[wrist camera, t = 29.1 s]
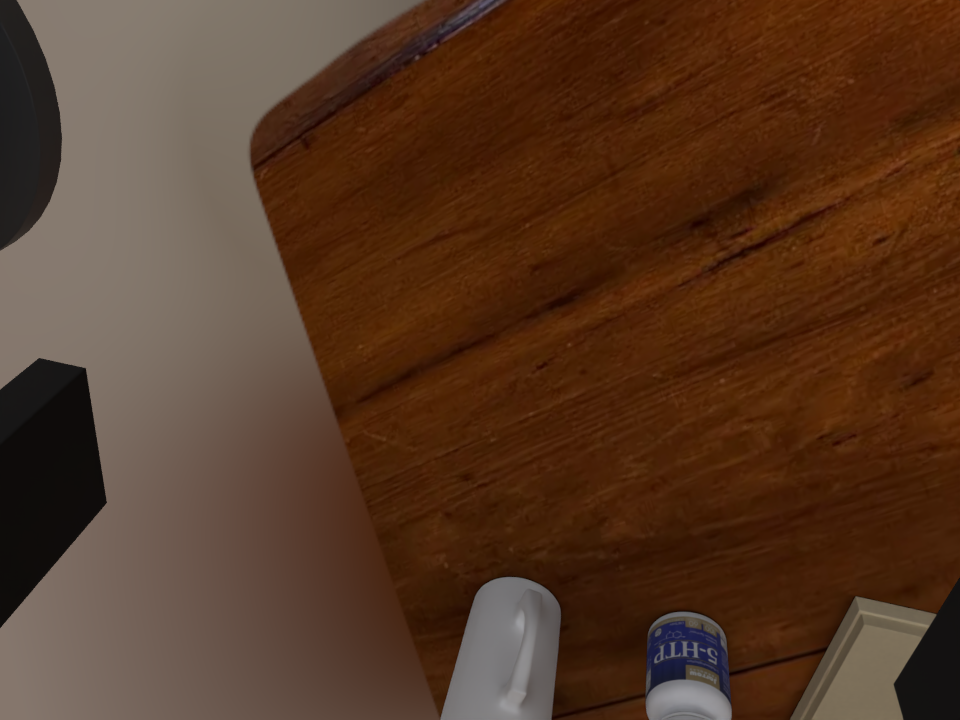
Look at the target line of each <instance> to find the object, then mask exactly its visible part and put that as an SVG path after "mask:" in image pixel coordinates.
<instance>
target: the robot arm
mask: <svg viewBox="0 0 960 720" xmlns="http://www.w3.org/2000/svg"><path fill="white" fill-rule="evenodd" d="M106 503H107V501H106V495H105V489H104V482H103V476H102V470H101V464H100V457H99V450H98V444H97V437H96V432H95V425H94V418H93V412H92V406H91V399H90V393H89V386H88V381H87V374H86V368H82V367H77V366H73V365H68V364H64V363H59V362H54V361H50V360H45V359H40V358H39V359H37V360H36V361H35V362H34V363H33V364H31V365H30V366H29V367H28V368H26V369H25V370H24V371H23V372H21V373H20V374H19V375H18V376H16V377H15V378H14V379H13V380H12V381H10V382H9V383H8V384H7V385H5V386H4V387H3V388H2V389H1V390H0V628H1V627H2V625H3V624H4V623H5V622H6V621H7V619H8V618H9V617H10V616H11V615H12V614H13V612H14V611H15V610H16V609H17V608H18V606H19V605H20V604H21V603H22V602H23V601H24V599H25V598H26V597H27V596H28V595H29V594H30V592H31V591H32V590H33V589H34V588H35V586H36V585H37V584H38V583H39V582H40V581H41V580H42V578H43V577H44V576H45V575H46V574H47V572H48V571H49V570H50V569H51V568H52V567H53V565H54V564H55V563H56V562H57V561H58V560H59V558H60V557H61V556H62V555H63V554H64V552H65V551H66V550H67V549H68V548H69V547H70V545H71V544H72V543H73V542H74V541H75V540H76V538H77V537H78V536H79V535H80V534H81V532H82V531H83V530H84V529H85V528H86V527H87V525H88V524H89V523H90V522H91V521H92V520H93V518H94V517H95V516H96V515H97V514H98V513H99V511H100V510H101V509H102V508H103V507H104V506H105V504H106ZM894 688H895V692H896V695H897V699H898V702H899V706H900V709H901V713H902V716H903V720H960V578H959V579H958V581H957V583H956V584H955V586H954V587H953V589H952V591H951V592H950V594H949V595H948V597H947V599H946V600H945V602H944V604H943V605H942V607H941V608H940V610H939V612H938V613H937V615H936V616H935V618H934V620H933V621H932V623H931V624H930V626H929V628H928V629H927V631H926V633H925V634H924V636H923V637H922V639H921V641H920V642H919V644H918V645H917V647H916V649H915V650H914V652H913V653H912V655H911V657H910V658H909V660H908V662H907V663H906V665H905V666H904V668H903V670H902V671H901V673H900V674H899V676H898V678H897V679H896V681H895V682H894Z"/></svg>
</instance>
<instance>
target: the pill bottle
mask: <svg viewBox="0 0 960 720" xmlns="http://www.w3.org/2000/svg"><path fill="white" fill-rule="evenodd" d="M646 712H647V716H648V718H649V720H731V715H732V708H731V695H730V683H729V669H728V655H727V643H726V637H725V634H724V632H723V630H722V629H721V627H720V626H719V625H718V624H717V623H716V622H714V621H713V620H712V619H710V618H708V617H706V616H704V615H701V614H697V613H692V612H674V613H670V614H667V615H664V616H662V617H660V618H659V619H658V620H656V621H655V622H654V623H653V624H652V626H651V627H650V629H649V632H648V640H647V672H646Z"/></svg>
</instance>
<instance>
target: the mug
mask: <svg viewBox="0 0 960 720" xmlns="http://www.w3.org/2000/svg"><path fill="white" fill-rule="evenodd" d="M560 622H561V610H560V606H559V604H558V602H557V600H556V598H555V597H554V596H553V595H552V594H551V592H549V591H548V590H547V589H546V588H544V587H543V586H541V585H540V584H538V583H536V582H533V581H531V580H528V579H524V578H518V577H503V578H498V579H494V580H492V581H490V582H488V583H486V584H485V585H483V586H482V587H481V588H480V589H479V591H478V592H477V594H476V596H475V598H474V602H473V605H472V608H471V611H470V615H469V618H468V621H467V625H466V629H465V632H464V636H463V640H462V644H461V647H460V651H459V654H458V658H457V662H456V665H455V669H454V672H453V676H452V679H451V683H450V687H449V690H448V694H447V697H446V701H445V704H444V708H443V712H442V715H441V719H440V720H551V717H552V706H553V696H554V686H555V676H556V666H557V657H558V647H559V632H560Z"/></svg>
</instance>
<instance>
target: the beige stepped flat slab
mask: <svg viewBox="0 0 960 720" xmlns="http://www.w3.org/2000/svg"><path fill="white" fill-rule="evenodd" d="M936 615H937V614H933V613H929V612H924V611H920V610H915V609H911V608H906V607H902V606H897V605H893V604H888V603H884V602H879V601H875V600H870V599H866V598H861V597H857V596H856V597H855V598H854V600H853V602H852V604H851V606H850V608H849V610H848V612H847V613H846V615H845V617H844V619H843V621H842V623H841V625H840V627H839V628H838V630H837V632H836V634H835V636H834V638H833V640H832V642H831V643H830V645H829V647H828V649H827V651H826V653H825V655H824V657H823V658H822V660H821V662H820V664H819V666H818V668H817V670H816V672H815V673H814V675H813V677H812V679H811V681H810V683H809V685H808V687H807V688H806V690H805V692H804V694H803V696H802V698H801V700H800V701H799V703H798V705H797V707H796V709H795V711H794V713H793V715H792V716H791V718H790V720H903V716H902V713H901V709H900V706H899V702H898V699H897V695H896V692H895V688H894V682H895V681H896V679H897V678H898V676H899V674H900V673H901V671H902V670H903V668H904V666H905V665H906V663H907V662H908V660H909V658H910V657H911V655H912V653H913V652H914V650H915V649H916V647H917V645H918V644H919V642H920V641H921V639H922V637H923V636H924V634H925V633H926V631H927V629H928V628H929V626H930V624H931V623H932V621H933V620H934V618H935V616H936Z"/></svg>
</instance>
